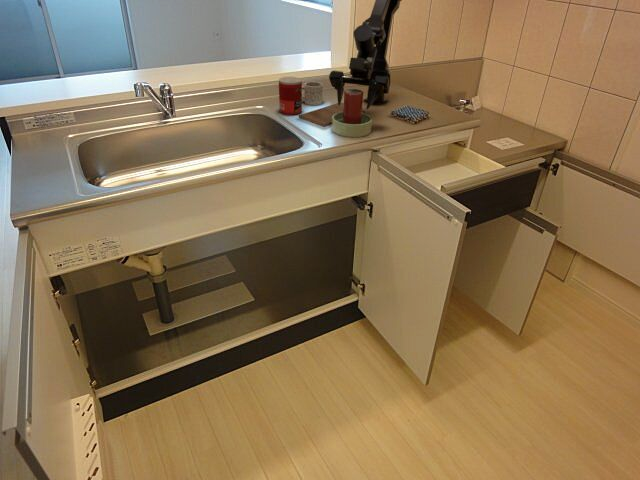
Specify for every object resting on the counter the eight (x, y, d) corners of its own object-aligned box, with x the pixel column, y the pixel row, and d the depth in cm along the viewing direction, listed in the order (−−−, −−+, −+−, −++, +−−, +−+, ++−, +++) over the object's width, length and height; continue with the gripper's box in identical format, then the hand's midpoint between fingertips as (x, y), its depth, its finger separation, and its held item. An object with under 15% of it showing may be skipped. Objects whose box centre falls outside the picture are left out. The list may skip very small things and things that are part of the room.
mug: (321, 99, 167) (322, 81, 163) (322, 105, 162) (323, 87, 158) (295, 99, 167) (295, 81, 163) (295, 105, 161) (295, 86, 158)
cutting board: (339, 106, 162) (340, 102, 161) (365, 114, 155) (365, 110, 154) (298, 119, 149) (298, 115, 148) (323, 129, 142) (324, 124, 141)
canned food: (299, 116, 152) (298, 83, 146) (276, 113, 153) (275, 81, 147) (304, 108, 158) (304, 77, 152) (282, 107, 159) (281, 75, 153)
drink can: (350, 125, 144) (352, 87, 137) (364, 129, 141) (367, 92, 134) (338, 129, 141) (340, 91, 134) (352, 134, 137) (354, 95, 131)
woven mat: (388, 116, 153) (388, 110, 152) (405, 110, 160) (406, 104, 159) (412, 124, 148) (413, 118, 146) (430, 117, 154) (431, 111, 153)
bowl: (349, 121, 148) (350, 108, 146) (378, 131, 141) (380, 118, 139) (323, 130, 141) (324, 117, 138) (353, 142, 134) (354, 128, 131)
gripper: (331, 42, 134) (319, 89, 131) (392, 48, 129) (379, 96, 126) (338, 64, 144) (326, 107, 142) (394, 70, 139) (382, 115, 137)
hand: (352, 106), depth 136 cm, fingers open, 9 cm apart
